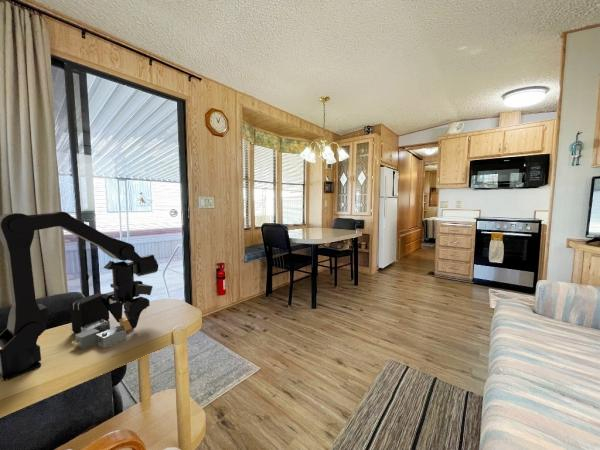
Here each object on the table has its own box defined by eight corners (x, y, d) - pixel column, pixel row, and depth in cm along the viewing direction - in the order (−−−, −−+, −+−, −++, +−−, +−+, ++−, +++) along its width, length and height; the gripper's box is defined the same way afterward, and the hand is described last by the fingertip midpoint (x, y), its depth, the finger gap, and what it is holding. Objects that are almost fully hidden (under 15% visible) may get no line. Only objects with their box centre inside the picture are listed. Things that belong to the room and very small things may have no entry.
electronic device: (109, 319, 92) (107, 293, 91) (83, 333, 82) (81, 303, 81) (99, 319, 92) (97, 292, 92) (72, 333, 83) (69, 303, 82)
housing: (104, 348, 73) (103, 336, 73) (81, 336, 80) (80, 325, 80) (126, 338, 78) (125, 327, 78) (103, 328, 85) (102, 318, 85)
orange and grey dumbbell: (76, 351, 72) (75, 339, 72) (71, 348, 74) (70, 336, 73) (134, 327, 86) (134, 317, 85) (128, 325, 87) (128, 315, 87)
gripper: (163, 277, 86) (166, 321, 88) (133, 270, 95) (136, 310, 97) (128, 286, 77) (132, 335, 78) (99, 278, 86) (102, 322, 87)
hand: (126, 324), depth 85 cm, fingers open, 9 cm apart
